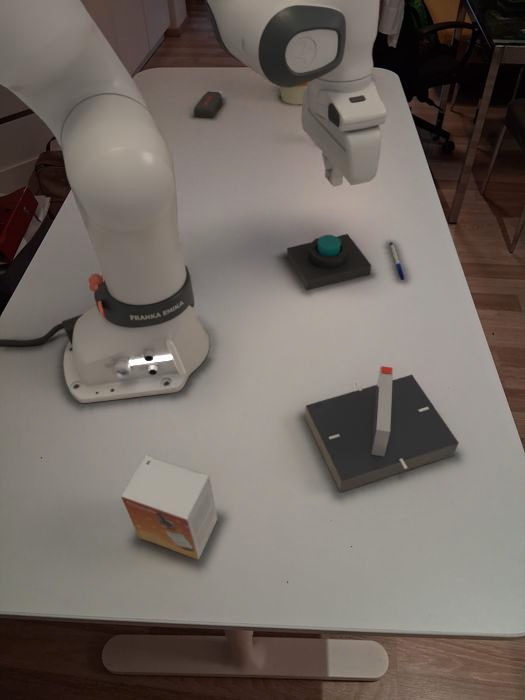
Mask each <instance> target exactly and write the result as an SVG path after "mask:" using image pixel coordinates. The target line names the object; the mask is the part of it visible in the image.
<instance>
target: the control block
mask: <svg viewBox="0 0 525 700" xmlns="http://www.w3.org/2000/svg"><path fill="white" fill-rule="evenodd" d="M335 236H336V235H335ZM336 237H338V238H339V239H340V241H341V245H340V252H339V253H338V254H337V255H334V256H323V255H321V254H319V252H318V251H317V244H318V239H319V238H320V237H316V238H315V239H314V240H313V241H311V242H310V241H309V242H307V243H302V244H298V245H293V246H289V247H287V248H286V258H287V260H288V261H289V263H290V264H291V267H292V268H293V270H294V271H295V274H296V275H297V277H298V279H299V280H300V282H301V283H302V285H303V287H304V289H305V290H306V291H310V290H314V289H319V288H323V287H326V286H327V287H328V286H330V285H334V284H339V283H342V282H346V281H352V280H354V279H358V278H362V277H368V276H370V275H371V270H372V264H371V263H370V261H368V259H367V258H366V256H365V255H364V253H363V252H362V250H361V249H360V248H359V247H358V245H357V244H356V243H355V241H354V240H353V239H352V238H351V237H350V235H349V234H348V233H345V234H341V235H337V236H336Z"/></svg>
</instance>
